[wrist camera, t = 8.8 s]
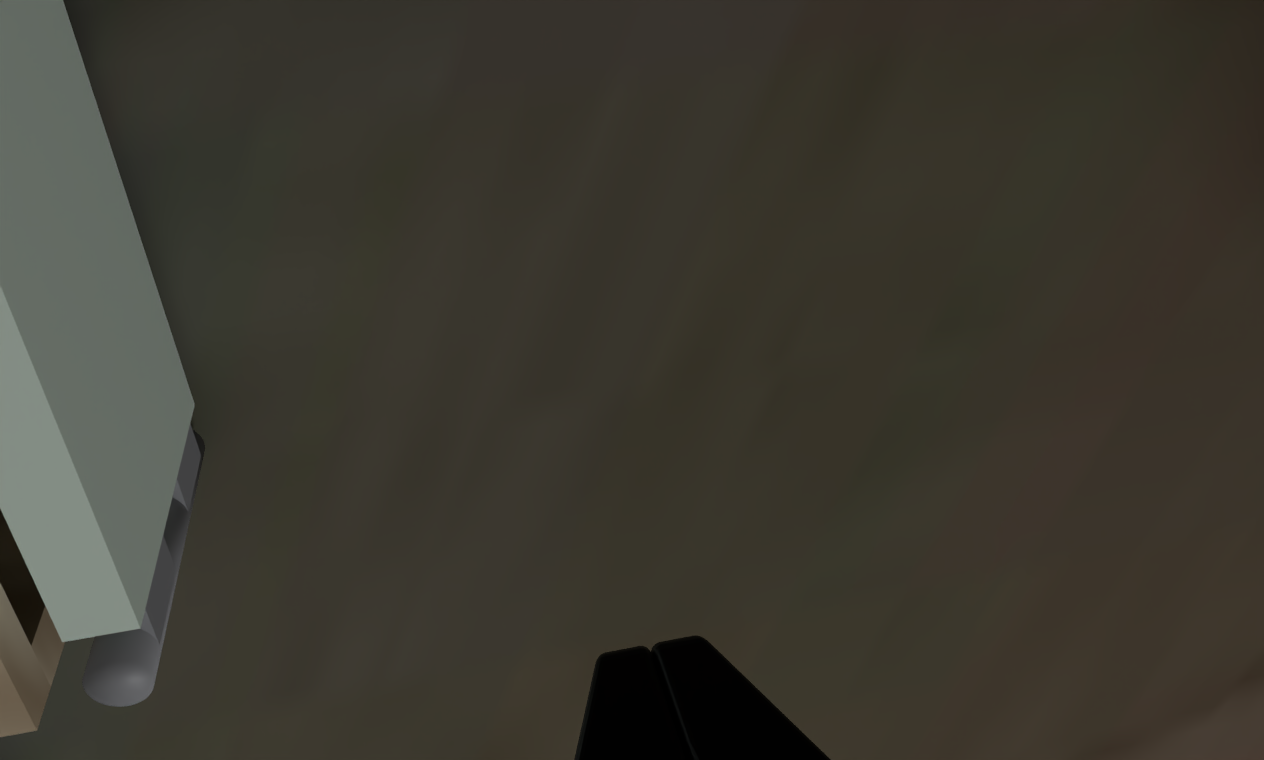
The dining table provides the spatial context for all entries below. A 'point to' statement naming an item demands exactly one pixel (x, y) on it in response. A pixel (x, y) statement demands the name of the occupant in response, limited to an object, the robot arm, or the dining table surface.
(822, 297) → the dining table surface
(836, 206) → the dining table surface
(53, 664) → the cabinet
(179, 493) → the door
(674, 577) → the dining table surface
